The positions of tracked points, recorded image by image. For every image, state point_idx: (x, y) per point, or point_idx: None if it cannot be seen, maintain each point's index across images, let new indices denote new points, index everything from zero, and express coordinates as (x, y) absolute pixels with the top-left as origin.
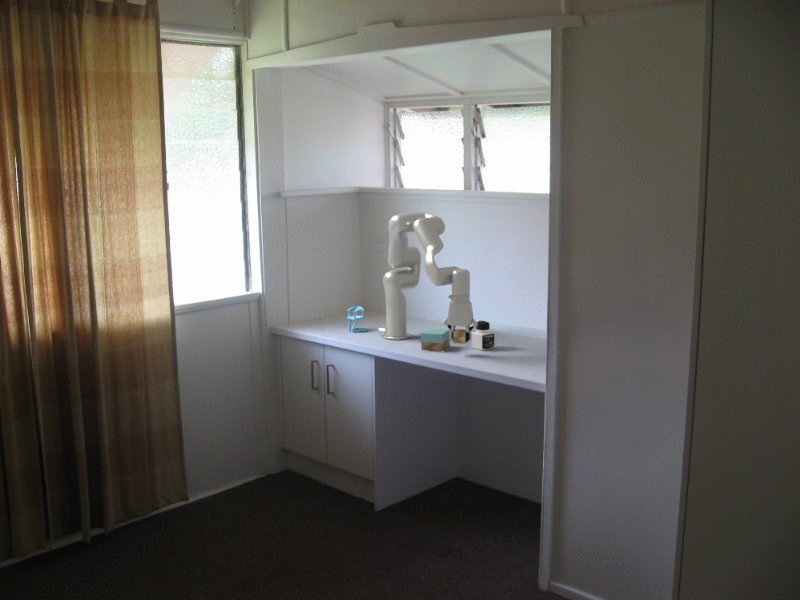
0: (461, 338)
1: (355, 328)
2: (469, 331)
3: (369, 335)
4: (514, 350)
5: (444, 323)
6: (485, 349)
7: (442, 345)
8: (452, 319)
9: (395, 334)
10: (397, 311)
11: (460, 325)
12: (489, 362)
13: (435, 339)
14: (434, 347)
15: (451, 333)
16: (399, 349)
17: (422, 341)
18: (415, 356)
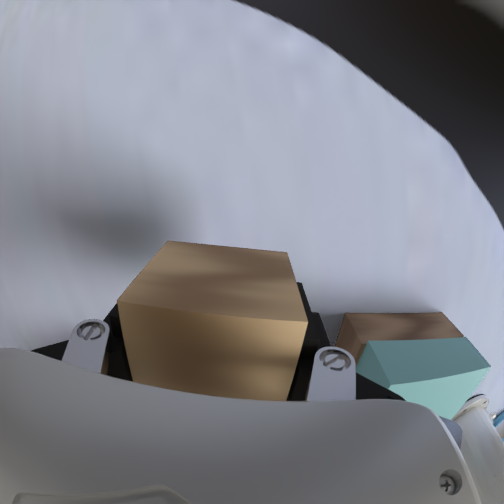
0: (190, 264)
1: (497, 424)
2: (76, 330)
3: (496, 405)
4: (34, 345)
5: (451, 426)
6: None
7: (363, 334)
8: None
9: (474, 413)
10: (496, 467)
11: (148, 387)
12: (43, 108)
13: (416, 354)
14: (399, 325)
15: (328, 341)
16: (499, 305)
17: (462, 339)
18: (473, 190)
